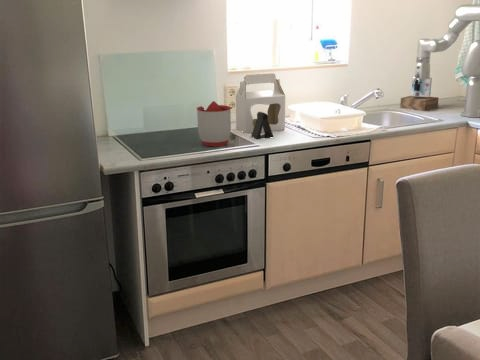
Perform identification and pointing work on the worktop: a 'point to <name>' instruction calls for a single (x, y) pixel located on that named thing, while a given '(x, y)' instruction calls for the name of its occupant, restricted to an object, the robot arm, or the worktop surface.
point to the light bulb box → (422, 88)
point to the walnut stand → (419, 103)
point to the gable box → (260, 97)
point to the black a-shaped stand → (262, 122)
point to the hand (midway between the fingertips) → (420, 89)
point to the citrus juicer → (214, 124)
